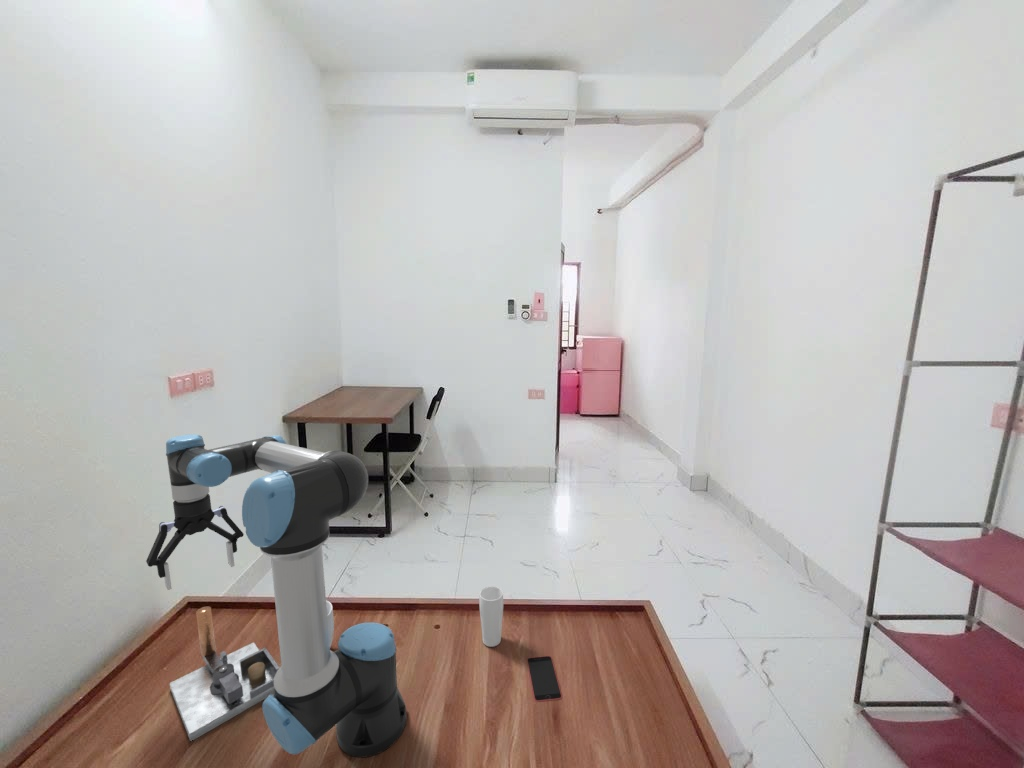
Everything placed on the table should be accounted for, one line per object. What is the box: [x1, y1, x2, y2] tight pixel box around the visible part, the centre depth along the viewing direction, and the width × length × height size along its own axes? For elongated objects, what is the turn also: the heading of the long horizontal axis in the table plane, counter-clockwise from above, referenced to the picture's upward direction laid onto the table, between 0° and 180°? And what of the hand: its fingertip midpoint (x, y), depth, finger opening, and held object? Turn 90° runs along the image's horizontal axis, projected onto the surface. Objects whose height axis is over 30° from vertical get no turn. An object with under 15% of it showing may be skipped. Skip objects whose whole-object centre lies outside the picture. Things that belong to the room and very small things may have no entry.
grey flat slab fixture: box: [169, 642, 281, 742], centre depth 111 cm, size 20×19×6 cm
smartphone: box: [526, 655, 563, 703], centre depth 115 cm, size 7×1×14 cm
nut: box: [248, 662, 266, 685], centre depth 112 cm, size 4×4×3 cm
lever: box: [195, 606, 243, 704], centre depth 111 cm, size 22×4×14 cm, turn 49°
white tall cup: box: [478, 585, 504, 648], centre depth 127 cm, size 7×7×15 cm
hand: (201, 575), depth 115 cm, fingers open, 13 cm apart
